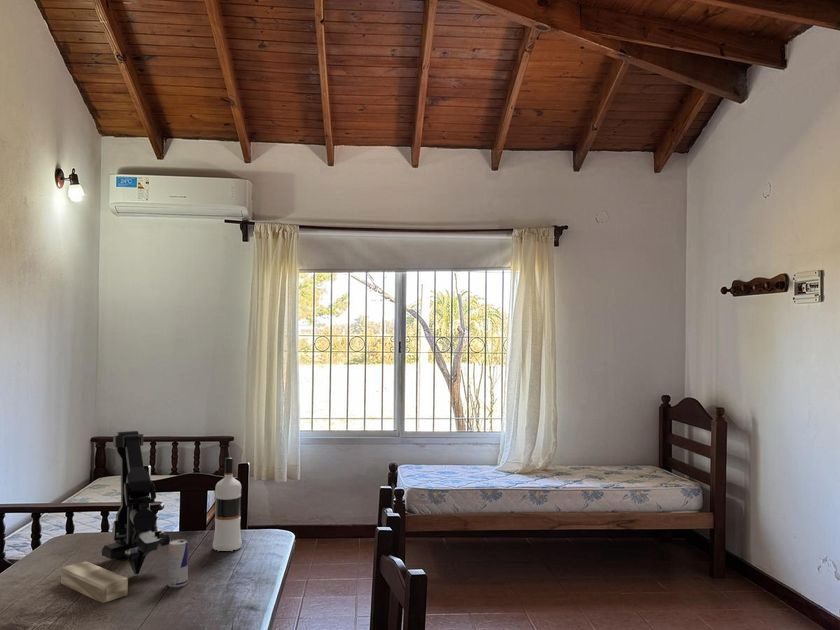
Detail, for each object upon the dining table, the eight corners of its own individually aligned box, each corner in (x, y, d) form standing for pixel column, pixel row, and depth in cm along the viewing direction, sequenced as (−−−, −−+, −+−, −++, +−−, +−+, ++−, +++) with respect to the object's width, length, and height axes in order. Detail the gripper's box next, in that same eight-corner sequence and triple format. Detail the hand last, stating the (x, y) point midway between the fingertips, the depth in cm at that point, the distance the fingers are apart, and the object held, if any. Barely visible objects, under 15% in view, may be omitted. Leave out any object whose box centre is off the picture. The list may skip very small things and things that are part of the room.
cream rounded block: (85, 576, 199) (85, 561, 199) (127, 595, 186) (127, 578, 186) (60, 583, 193) (61, 567, 194) (102, 603, 180) (103, 585, 180)
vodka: (218, 554, 220) (220, 461, 220) (208, 547, 227) (210, 456, 228) (246, 549, 225) (247, 458, 226) (235, 542, 233) (236, 454, 233)
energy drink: (191, 582, 196) (192, 540, 196) (179, 588, 191) (180, 545, 191) (176, 579, 197) (176, 538, 198) (163, 586, 192) (164, 543, 193)
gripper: (121, 533, 188) (120, 590, 188) (181, 519, 203) (180, 571, 203) (101, 525, 195) (100, 580, 195) (160, 512, 210) (159, 563, 210)
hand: (136, 574), depth 200 cm, fingers closed
